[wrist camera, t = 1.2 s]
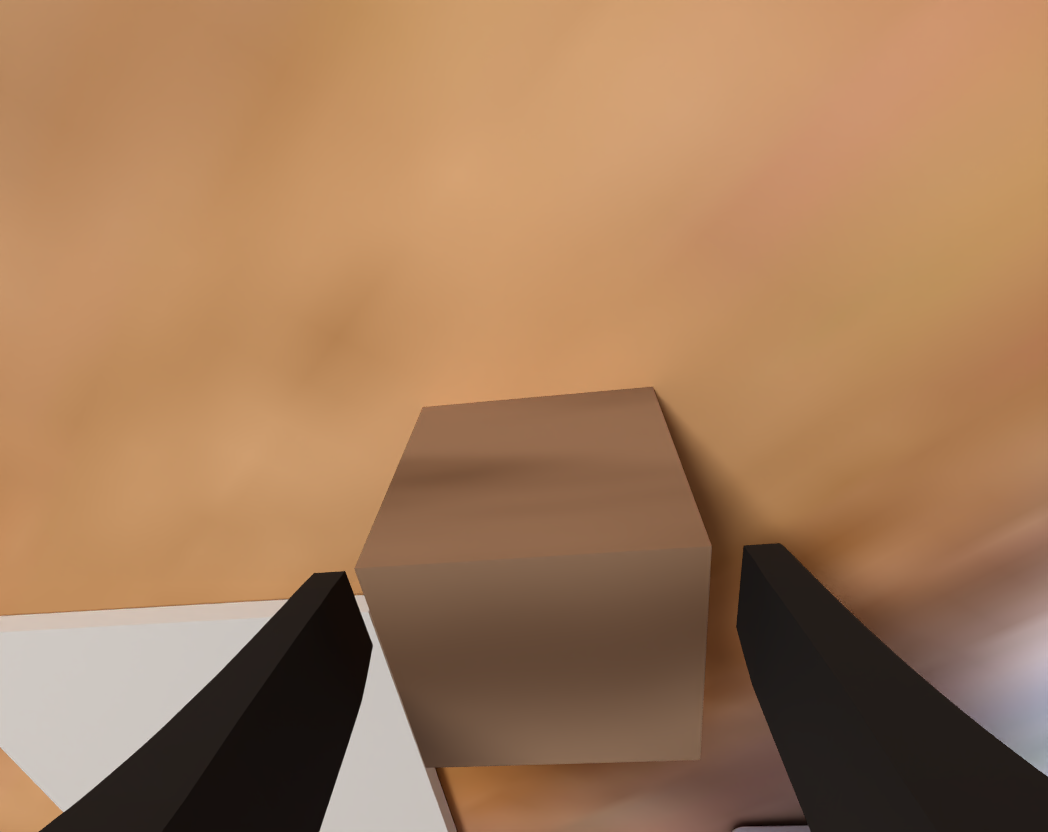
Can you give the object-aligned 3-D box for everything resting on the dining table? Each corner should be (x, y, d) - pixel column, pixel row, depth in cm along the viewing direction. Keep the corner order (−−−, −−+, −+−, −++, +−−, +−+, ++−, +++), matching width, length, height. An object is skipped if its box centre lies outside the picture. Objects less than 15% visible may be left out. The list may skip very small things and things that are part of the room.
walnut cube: (653, 560, 14) (700, 760, 10) (462, 571, 15) (425, 767, 10) (652, 385, 12) (712, 546, 8) (423, 405, 12) (354, 568, 8)
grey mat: (463, 851, 22) (461, 869, 21) (132, 855, 23) (122, 873, 23) (374, 594, 15) (368, 611, 15) (-85, 621, 16) (-106, 638, 16)
